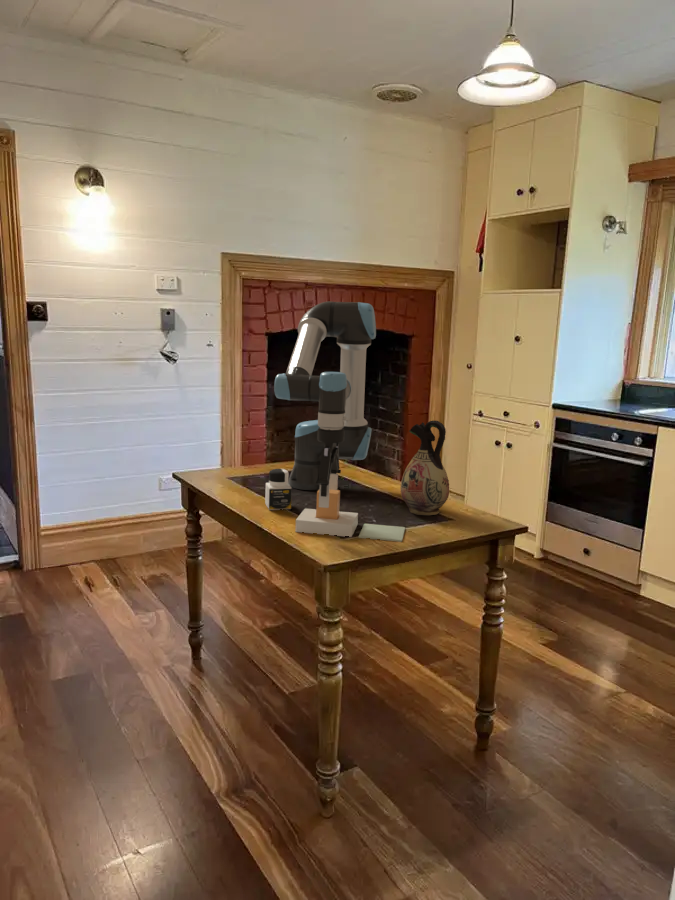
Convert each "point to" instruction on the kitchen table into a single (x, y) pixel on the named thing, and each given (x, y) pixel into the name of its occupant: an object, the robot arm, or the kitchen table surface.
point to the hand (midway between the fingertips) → (328, 501)
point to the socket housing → (327, 523)
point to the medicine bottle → (278, 490)
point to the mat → (382, 532)
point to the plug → (333, 506)
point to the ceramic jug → (426, 473)
